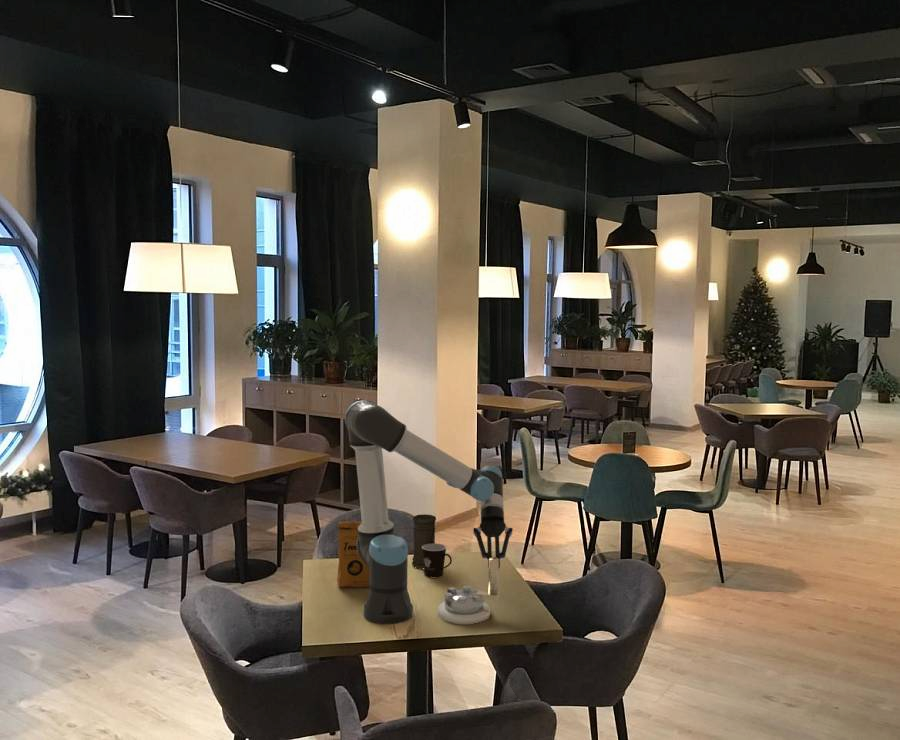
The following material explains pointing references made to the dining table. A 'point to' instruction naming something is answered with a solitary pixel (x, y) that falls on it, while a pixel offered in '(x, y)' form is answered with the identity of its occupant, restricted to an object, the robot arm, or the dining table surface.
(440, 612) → the nut base plate
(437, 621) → the dining table surface
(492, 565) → the grey and clear pieces
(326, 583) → the dining table surface
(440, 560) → the coffee mug
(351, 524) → the coffee package
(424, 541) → the container
